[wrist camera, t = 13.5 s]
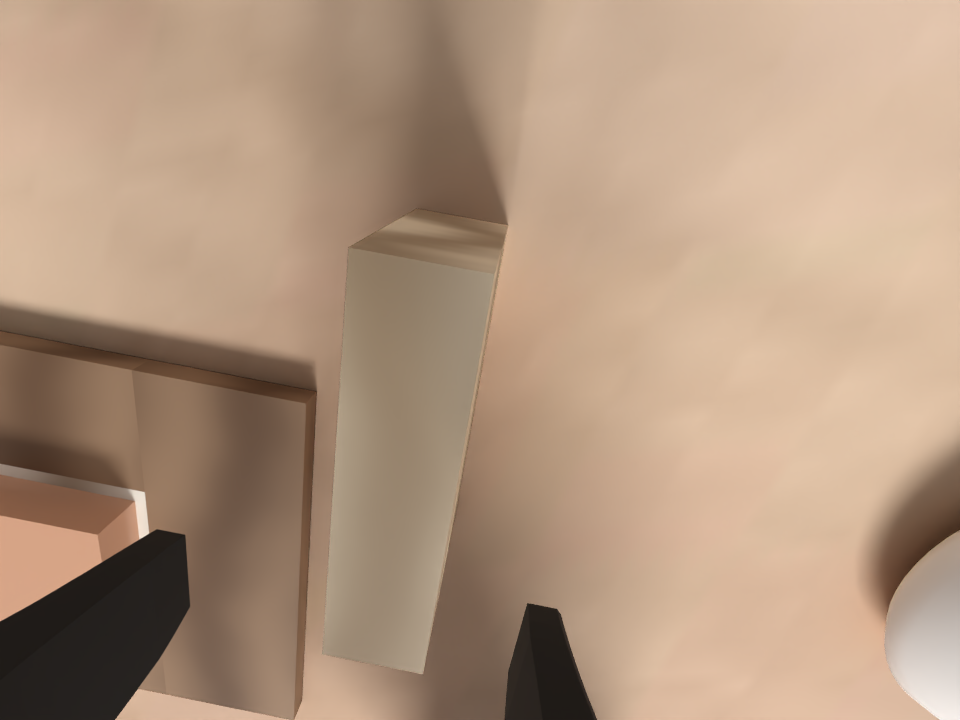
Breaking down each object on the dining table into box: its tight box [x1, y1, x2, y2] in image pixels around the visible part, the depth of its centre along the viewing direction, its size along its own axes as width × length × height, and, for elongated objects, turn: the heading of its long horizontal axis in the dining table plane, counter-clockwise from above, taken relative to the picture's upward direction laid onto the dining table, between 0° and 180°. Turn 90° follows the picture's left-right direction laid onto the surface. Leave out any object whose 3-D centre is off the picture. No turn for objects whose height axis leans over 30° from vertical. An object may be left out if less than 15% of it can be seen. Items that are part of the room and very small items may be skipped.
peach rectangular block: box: [0, 475, 139, 621], centre depth 22 cm, size 6×6×2 cm
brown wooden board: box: [0, 331, 317, 720], centre depth 23 cm, size 15×18×1 cm
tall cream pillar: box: [322, 209, 508, 674], centre depth 16 cm, size 3×12×7 cm, turn 171°
